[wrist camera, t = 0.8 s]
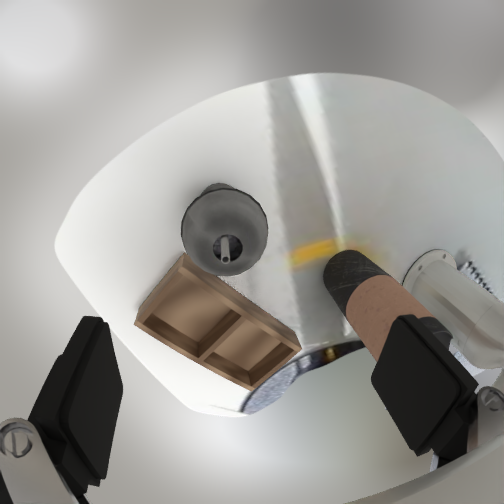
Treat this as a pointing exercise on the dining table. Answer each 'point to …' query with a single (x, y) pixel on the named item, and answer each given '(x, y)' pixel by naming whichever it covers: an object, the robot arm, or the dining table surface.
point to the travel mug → (374, 300)
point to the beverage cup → (224, 230)
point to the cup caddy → (216, 326)
